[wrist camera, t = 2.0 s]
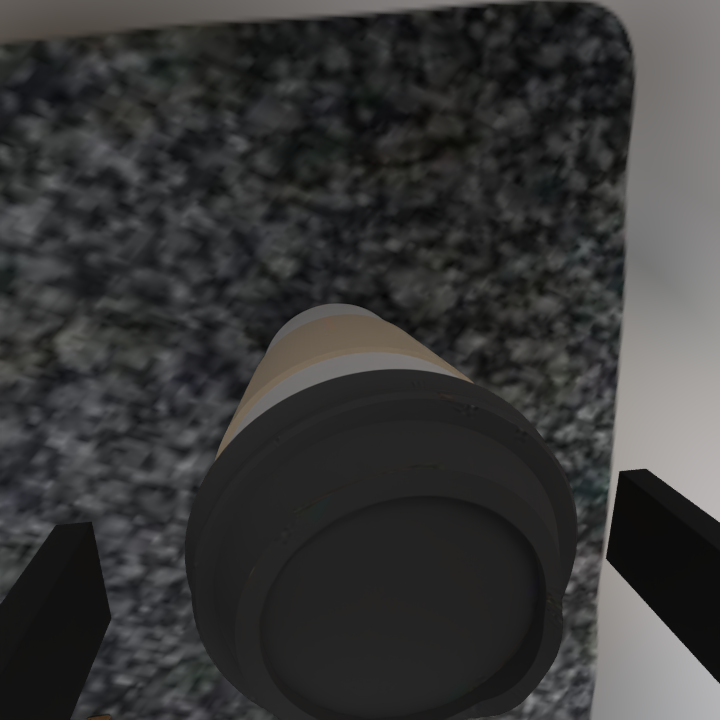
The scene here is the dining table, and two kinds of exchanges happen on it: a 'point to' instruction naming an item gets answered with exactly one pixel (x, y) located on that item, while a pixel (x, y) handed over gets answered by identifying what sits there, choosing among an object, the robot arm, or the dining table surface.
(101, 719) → the board
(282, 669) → the coffee cup
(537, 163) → the dining table surface
